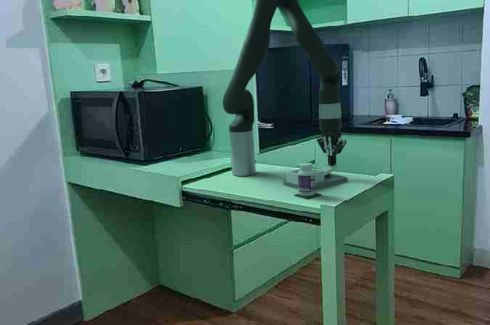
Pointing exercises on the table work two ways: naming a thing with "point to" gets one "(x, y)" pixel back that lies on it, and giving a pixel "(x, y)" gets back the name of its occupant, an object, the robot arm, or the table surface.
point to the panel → (320, 179)
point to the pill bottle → (306, 180)
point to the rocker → (329, 169)
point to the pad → (308, 196)
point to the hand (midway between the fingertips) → (332, 165)
